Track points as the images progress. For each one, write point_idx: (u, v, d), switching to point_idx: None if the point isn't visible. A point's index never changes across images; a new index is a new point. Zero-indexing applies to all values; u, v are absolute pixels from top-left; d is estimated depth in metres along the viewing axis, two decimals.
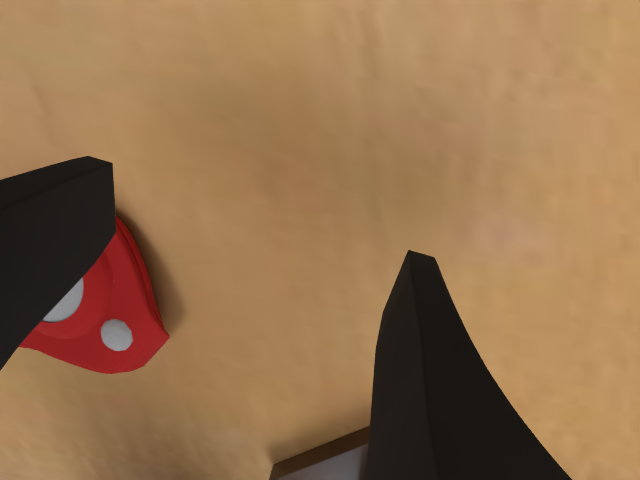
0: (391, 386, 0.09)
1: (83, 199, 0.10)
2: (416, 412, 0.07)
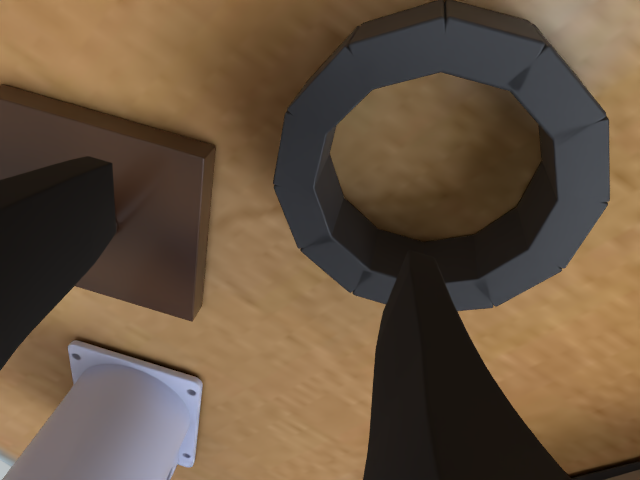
0: (391, 386, 0.09)
1: (83, 199, 0.10)
2: (416, 412, 0.07)
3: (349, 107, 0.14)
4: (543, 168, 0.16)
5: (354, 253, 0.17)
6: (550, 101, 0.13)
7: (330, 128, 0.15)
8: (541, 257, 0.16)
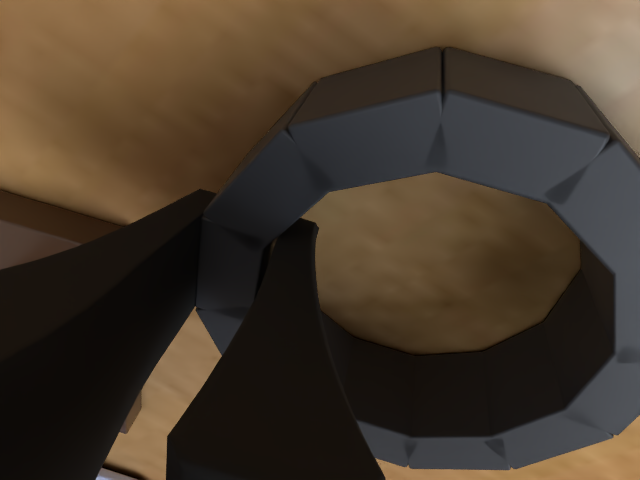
0: None
1: None
2: None
3: (295, 215, 0.09)
4: (585, 283, 0.11)
5: None
6: (614, 222, 0.08)
7: (269, 241, 0.10)
8: (583, 420, 0.11)
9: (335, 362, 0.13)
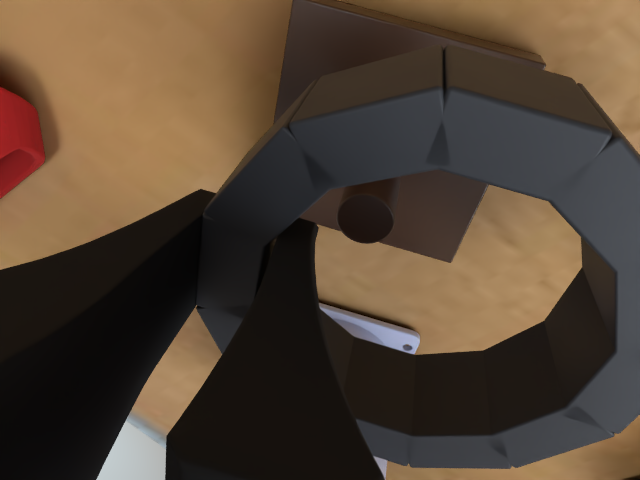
0: None
1: None
2: None
3: (296, 213, 0.09)
4: (586, 281, 0.11)
5: None
6: (616, 219, 0.08)
7: (269, 239, 0.10)
8: (584, 418, 0.11)
9: (335, 361, 0.13)
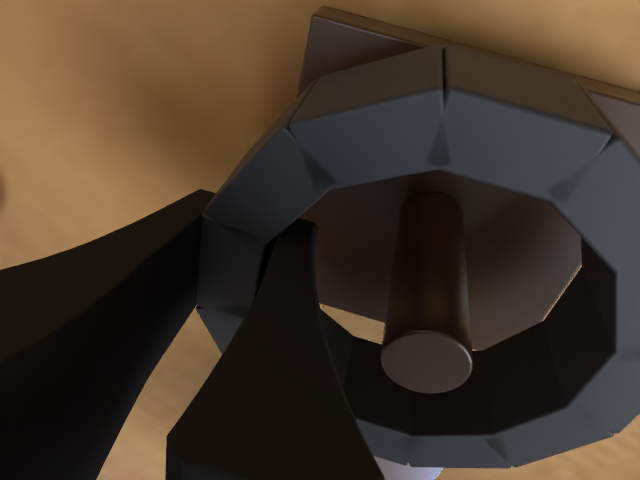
0: None
1: None
2: None
3: (295, 213, 0.09)
4: (585, 281, 0.11)
5: None
6: (616, 219, 0.08)
7: (269, 239, 0.10)
8: (584, 418, 0.11)
9: (335, 361, 0.13)
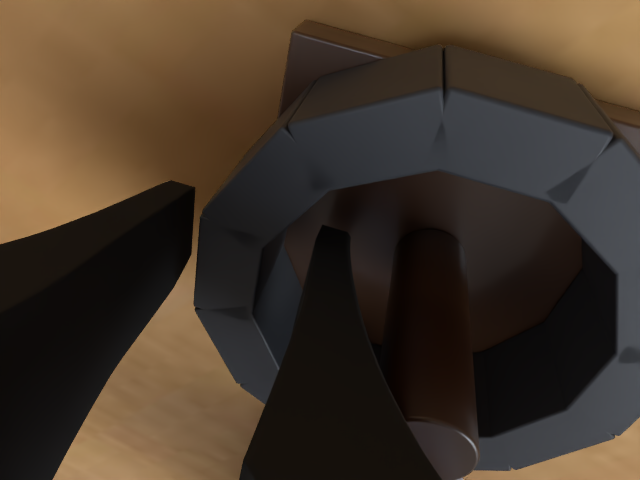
0: None
1: (171, 225, 0.10)
2: None
3: (294, 214, 0.09)
4: (586, 282, 0.11)
5: None
6: (617, 221, 0.08)
7: (268, 241, 0.10)
8: (585, 420, 0.11)
9: None
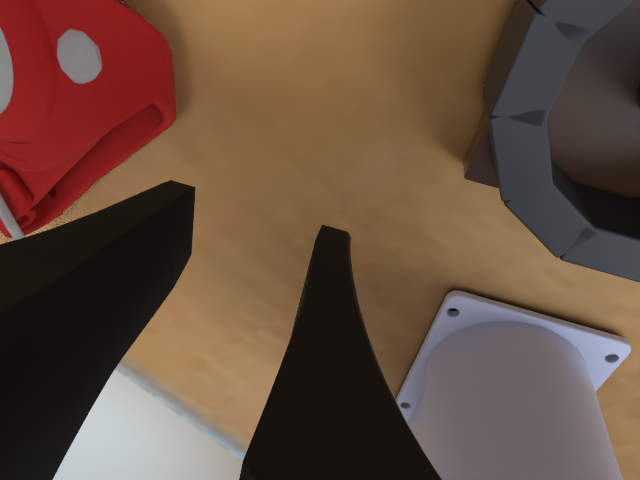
0: None
1: (171, 225, 0.10)
2: None
3: None
4: None
5: (576, 206, 0.14)
6: None
7: (594, 32, 0.11)
8: None
9: (573, 193, 0.15)
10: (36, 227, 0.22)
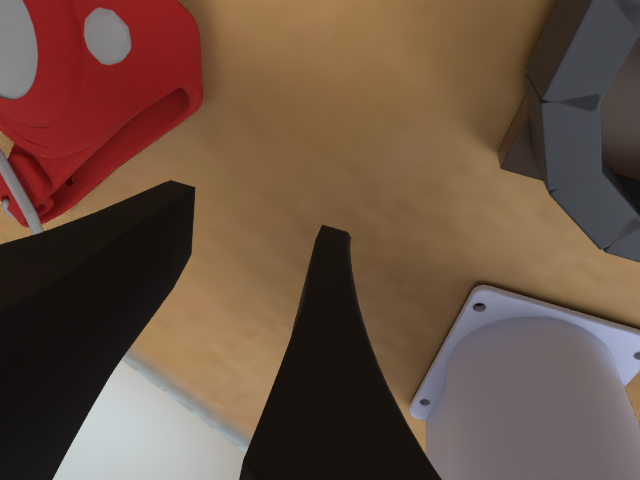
0: None
1: (171, 225, 0.10)
2: None
3: None
4: None
5: (624, 196, 0.13)
6: None
7: None
8: None
9: (618, 183, 0.15)
10: (52, 217, 0.21)
